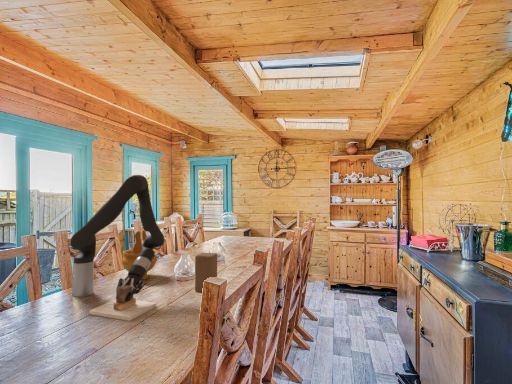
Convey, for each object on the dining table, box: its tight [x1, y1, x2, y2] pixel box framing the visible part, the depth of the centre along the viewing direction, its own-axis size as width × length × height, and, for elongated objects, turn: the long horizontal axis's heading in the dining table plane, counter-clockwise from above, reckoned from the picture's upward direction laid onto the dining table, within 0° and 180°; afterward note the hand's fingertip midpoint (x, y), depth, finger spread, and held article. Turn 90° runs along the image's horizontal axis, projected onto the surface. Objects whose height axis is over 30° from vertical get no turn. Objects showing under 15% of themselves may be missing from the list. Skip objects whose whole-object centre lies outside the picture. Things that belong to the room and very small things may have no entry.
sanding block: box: [114, 285, 137, 310], centre depth 141 cm, size 5×9×9 cm, turn 162°
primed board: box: [88, 298, 157, 322], centre depth 141 cm, size 22×18×2 cm
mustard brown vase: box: [121, 229, 158, 280], centre depth 196 cm, size 21×21×30 cm
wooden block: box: [194, 252, 218, 293], centre depth 171 cm, size 10×10×20 cm
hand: (121, 300), depth 139 cm, fingers closed on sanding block, 4 cm apart
